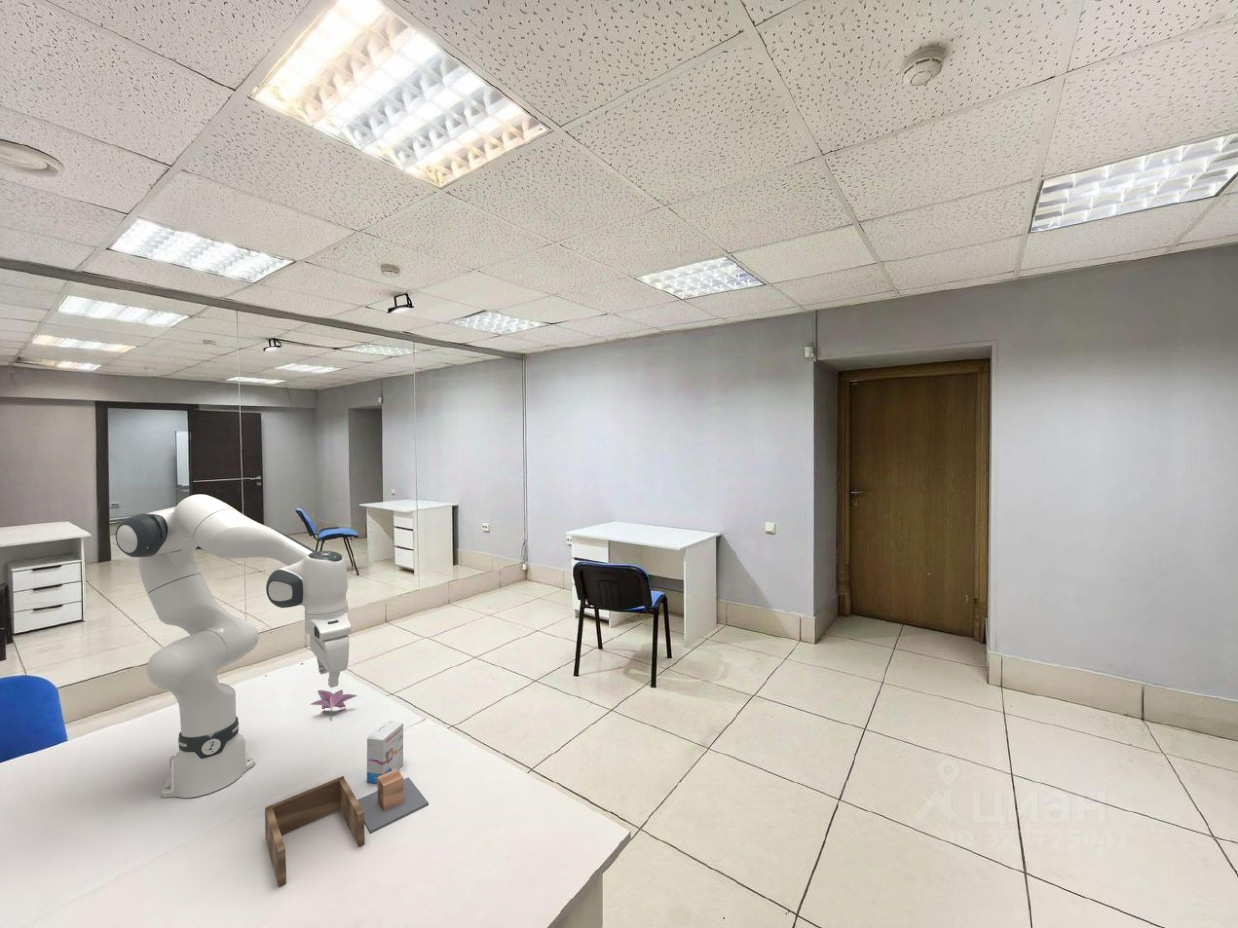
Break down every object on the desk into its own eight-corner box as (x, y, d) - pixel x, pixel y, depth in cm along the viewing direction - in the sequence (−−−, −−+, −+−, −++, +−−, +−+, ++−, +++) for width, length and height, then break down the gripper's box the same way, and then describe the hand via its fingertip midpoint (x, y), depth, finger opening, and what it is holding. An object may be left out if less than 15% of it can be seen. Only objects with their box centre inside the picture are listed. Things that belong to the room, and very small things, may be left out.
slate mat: (353, 803, 119) (353, 801, 119) (408, 778, 128) (408, 776, 128) (370, 833, 109) (370, 831, 109) (428, 804, 118) (428, 802, 118)
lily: (362, 714, 162) (360, 683, 166) (336, 717, 151) (335, 684, 155) (328, 724, 163) (328, 693, 167) (301, 728, 152) (301, 695, 156)
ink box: (383, 785, 125) (382, 739, 125) (366, 782, 126) (365, 737, 126) (404, 764, 134) (403, 721, 134) (388, 762, 135) (387, 719, 135)
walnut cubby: (265, 838, 108) (264, 807, 108) (343, 804, 119) (343, 775, 118) (278, 886, 96) (278, 851, 96) (364, 843, 106) (364, 811, 106)
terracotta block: (377, 801, 119) (377, 776, 119) (397, 792, 122) (396, 768, 122) (383, 811, 115) (383, 786, 115) (403, 802, 118) (403, 777, 118)
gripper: (302, 613, 122) (303, 669, 122) (321, 635, 107) (323, 698, 107) (331, 608, 126) (332, 661, 126) (353, 628, 111) (355, 689, 111)
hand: (328, 679), depth 116 cm, fingers open, 8 cm apart
